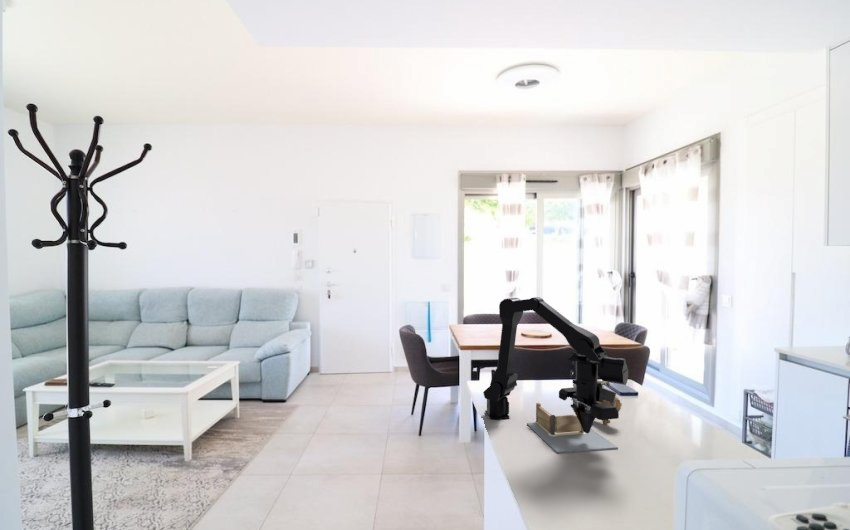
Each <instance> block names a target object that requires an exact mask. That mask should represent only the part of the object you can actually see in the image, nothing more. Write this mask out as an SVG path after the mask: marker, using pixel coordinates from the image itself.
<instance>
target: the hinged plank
mask: <svg viewBox="0 0 850 530" xmlns="http://www.w3.org/2000/svg"><path fill="white" fill-rule="evenodd" d="M577 431H579V432H581V433H584V431H583V428H582V426H581V424H580V422H579V420H578V418H577V416H576V414H566V415H565V414H564V415H555V432H556V433H565V432H577Z"/></svg>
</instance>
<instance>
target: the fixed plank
mask: <svg viewBox="0 0 850 530" xmlns="http://www.w3.org/2000/svg"><path fill="white" fill-rule="evenodd" d="M555 416H556V415H555V414H552V413H550V412H549V411H547V410H546V409H545V408H544V407H543V406H542V403H539V402H537V403H536V405H535V422H538V423H539V424H540V425H541V426H542V427H543V428H545V429H546V430H547V431H548V432H549V433H551V435H555Z"/></svg>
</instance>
